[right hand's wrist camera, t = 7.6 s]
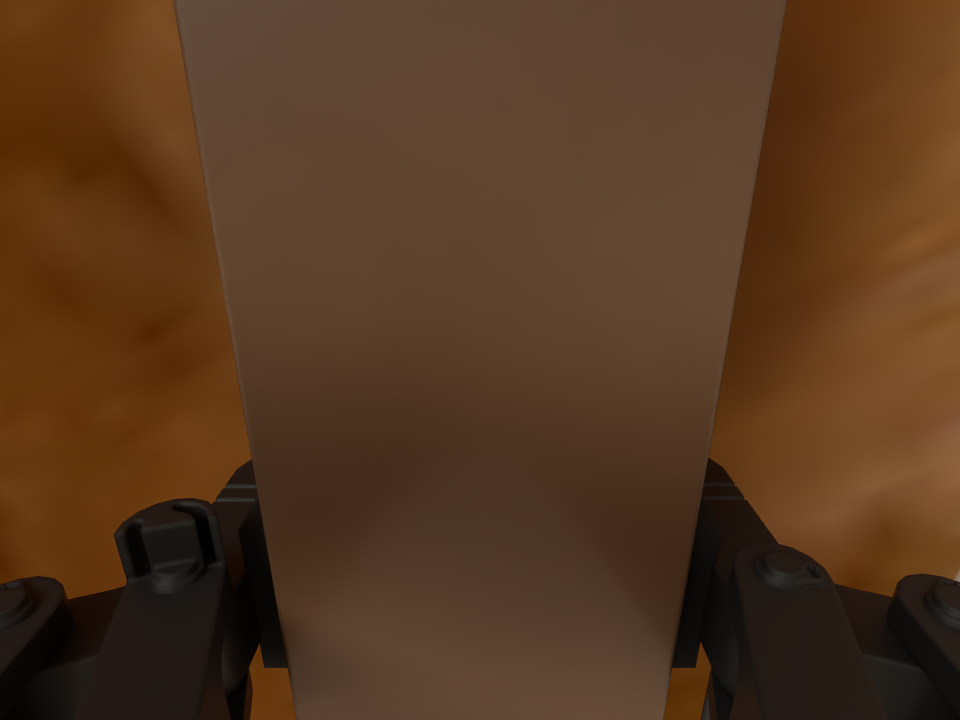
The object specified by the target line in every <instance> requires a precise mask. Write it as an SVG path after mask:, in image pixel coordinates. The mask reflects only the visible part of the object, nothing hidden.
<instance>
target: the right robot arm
mask: <svg viewBox="0 0 960 720" xmlns="http://www.w3.org/2000/svg"><path fill="white" fill-rule="evenodd" d="M734 484H735V483H734V482H733V481H732V479H731V478H730V477H729V475H728V474H727V472H726V471H725V470H724V468H723V467H722V466H720V465H719V464H717V463H716V462H714V461H713V460H711V459H710V458H708V461H707V467H706V472H705V478H704V484H703V490H702V496H701V501H700V507H699V513H698V519H697V525H696V531H695V536H694V542H693V548H692V554H691V560H690V566H689V571H688V577H687V583H686V589H685V595H684V600H683V606H682V612H681V618H680V624H679V630H678V635H677V641H676V647H675V653H674V659H673V664H672V668H695V667H696V661H697V656H698V651H699V646H700V641H701V643H702V646H703V648H704V650H705V652H706V655H707V657H708V659H709V662H710V664H711V671H710V676H709V681H708V686H707V690H706V695H705V700H704V705H703V710H702V716H701V720H709V717H710V720H960V582H958V581H954V580H952V579H948V578H945V577H941V576H935V575H928V574H916V575H908V576H905V577H904V578H903V579H902V580H900V581H899V582H898V583H897V586H896V589H895V592H894V594H893V597H889V596H884V595H880V594H875V593H870V592H866V591H861V590H857V589H852V588H848V587H844V586H841V585H838V584H834V582H833V580H832V579H831V577H830V576H829V574H828V573H827V571H826V570H825V569H824V567H822V566H821V565H820V564H819V563H817V562H816V561H815V560H814V559H812V558H811V557H810V556H808V555H806V554H804V553H802V552H800V551H798V550H796V549H794V548H791V547H788V546H784V545H780V544H778V543H777V541H776V540H775V538H774V537H773V536H772V534H771V533H770V532H769V530H768V529H767V527H766V526H765V525H764V523H763V522H762V521H761V519H760V518H759V516H758V515H757V514H756V512H755V511H754V510H753V508H752V507H751V505H750V504H749V503H748V501H747V500H744V496H743V494H742V493H741V492H740V490H739V489H738V488H737V487H735V485H734ZM225 486H226V487H225V489H222V491H221V492H220V494H219V495H218V496H217V498H216V502H213V503H212V505H211V504H210V503H209V502H208V501H204V500H200V499H195V498H186V499H174V500H170V501H166V502H162V503H157V504H155V505H153V506H150V507H148V508H146V509H143V510H141V511H139V512H137V513H136V514H134V515H133V516H132V517H130V518H129V519H127V520H126V521H124V522H123V523H122V524H121V526H120V527H119V528H118V529H117V531H116V532H115V533H114V538H115V541H116V544H117V548H118V551H119V555H120V558H121V561H122V565H123V568H124V572H125V575H126V579H127V584H126V586H124V587H120V588H117V589H113V590H109V591H105V592H100V593H96V594H91V595H87V596H82V597H78V598H73V599H69V600H68V599H67V596H66V593H65V590H64V587H63V585H62V584H61V583H60V582H58V581H57V580H56V579H54V578H49V577H41V576H36V577H29V578H22V579H17V580H14V581H11V582H8V583H4V584H2V585H0V720H250V715H251V704H252V694H253V688H252V682H251V676H250V671H249V666H250V664H251V661H252V659H253V657H254V654H255V652H256V650H257V648H258V645H259V643H260V648H261V653H262V658H263V663H264V668H288V667H287V661H286V655H285V649H284V643H283V638H282V632H281V626H280V620H279V614H278V608H277V603H276V597H275V591H274V585H273V579H272V573H271V568H270V562H269V556H268V550H267V544H266V538H265V533H264V527H263V521H262V515H261V509H260V504H259V498H258V492H257V486H256V480H255V474H254V469H253V463H252V459H251V460H250V461H248V462H247V463H245V464H244V465H243V466H241V467H240V468H238V469H237V470H236V471H235V473H234V474H233V476H232V477H231V478H230V480H229V481H228V483H227V484H226V485H225Z"/></svg>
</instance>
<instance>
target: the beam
mask: <svg viewBox="0 0 960 720" xmlns="http://www.w3.org/2000/svg"><path fill="white" fill-rule="evenodd" d="M786 1H787V0H173V2H174V8H175V14H176V20H177V26H178V31H179V37H180V43H181V49H182V55H183V61H184V66H185V72H186V78H187V84H188V90H189V96H190V101H191V107H192V113H193V119H194V125H195V131H196V136H197V142H198V148H199V154H200V160H201V166H202V171H203V177H204V183H205V189H206V195H207V200H208V206H209V212H210V218H211V224H212V230H213V235H214V241H215V247H216V253H217V259H218V265H219V270H220V276H221V282H222V288H223V294H224V300H225V305H226V311H227V317H228V323H229V329H230V335H231V340H232V346H233V352H234V358H235V364H236V369H237V375H238V381H239V387H240V393H241V399H242V404H243V410H244V416H245V422H246V428H247V434H248V439H249V445H250V451H251V457H252V463H253V469H254V474H255V480H256V486H257V492H258V498H259V504H260V509H261V515H262V521H263V527H264V533H265V538H266V544H267V550H268V556H269V562H270V568H271V573H272V579H273V585H274V591H275V597H276V603H277V608H278V614H279V620H280V626H281V632H282V638H283V643H284V649H285V655H286V661H287V667H288V673H289V678H290V684H291V690H292V696H293V702H294V707H295V713H296V719H297V720H663V717H664V711H665V705H666V699H667V694H668V688H669V682H670V676H671V670H672V664H673V659H674V653H675V647H676V641H677V635H678V630H679V624H680V618H681V612H682V606H683V600H684V595H685V589H686V583H687V577H688V571H689V566H690V560H691V554H692V548H693V542H694V536H695V531H696V525H697V519H698V513H699V507H700V501H701V496H702V490H703V484H704V478H705V472H706V467H707V461H708V455H709V449H710V443H711V437H712V432H713V426H714V420H715V414H716V408H717V403H718V397H719V391H720V385H721V379H722V373H723V368H724V362H725V356H726V350H727V344H728V338H729V333H730V327H731V321H732V315H733V309H734V304H735V298H736V292H737V286H738V280H739V274H740V269H741V263H742V257H743V251H744V245H745V239H746V234H747V228H748V222H749V216H750V210H751V205H752V199H753V193H754V187H755V181H756V175H757V170H758V164H759V158H760V152H761V146H762V140H763V135H764V129H765V123H766V117H767V111H768V106H769V100H770V94H771V88H772V82H773V76H774V71H775V65H776V59H777V53H778V47H779V42H780V36H781V30H782V24H783V18H784V12H785V7H786Z"/></svg>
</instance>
